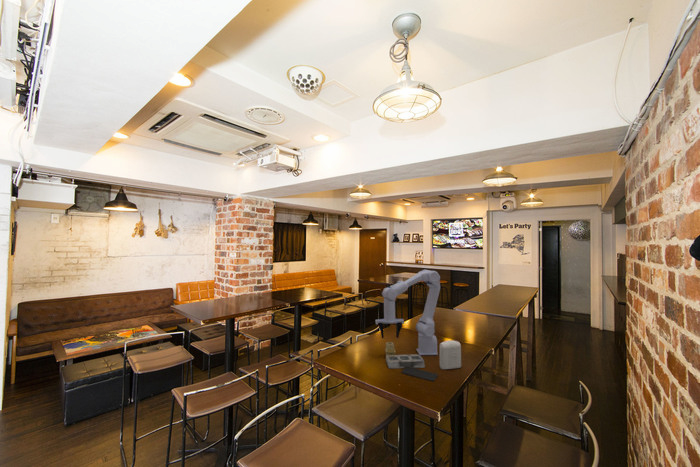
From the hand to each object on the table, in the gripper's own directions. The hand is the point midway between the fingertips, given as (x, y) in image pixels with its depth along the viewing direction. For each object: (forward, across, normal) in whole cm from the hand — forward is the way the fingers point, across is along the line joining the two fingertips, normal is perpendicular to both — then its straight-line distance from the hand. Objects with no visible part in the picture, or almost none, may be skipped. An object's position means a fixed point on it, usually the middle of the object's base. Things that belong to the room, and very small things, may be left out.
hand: (390, 337), depth 145 cm
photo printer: (+10, +26, -14) cm, 31 cm away
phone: (+10, +10, -20) cm, 24 cm away
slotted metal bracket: (+10, +5, -9) cm, 15 cm away
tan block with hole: (+10, 0, 0) cm, 10 cm away
